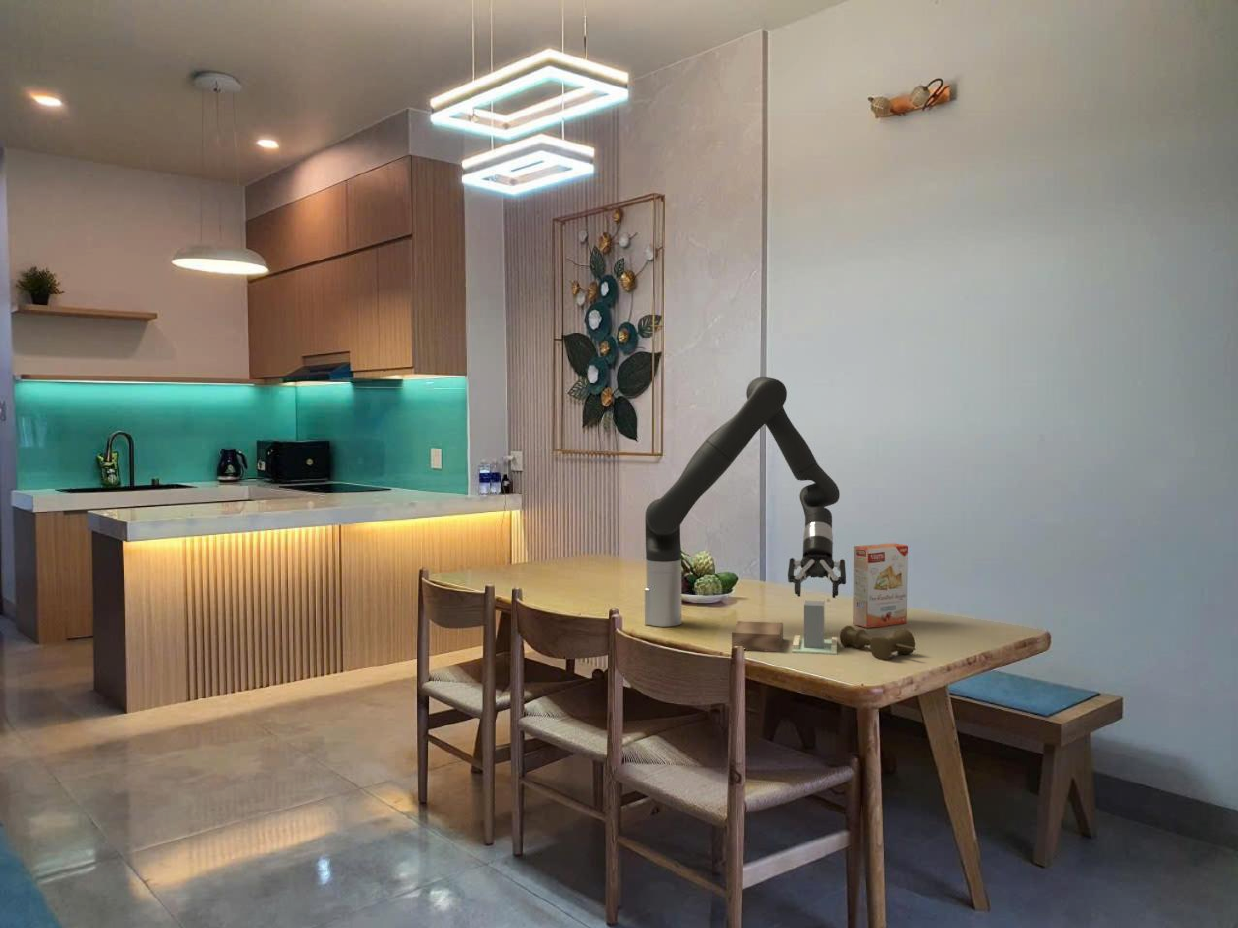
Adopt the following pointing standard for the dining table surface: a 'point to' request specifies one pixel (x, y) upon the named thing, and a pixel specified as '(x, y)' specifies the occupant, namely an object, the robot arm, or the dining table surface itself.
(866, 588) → the cracker box
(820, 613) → the gray rectangular block
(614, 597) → the dining table surface
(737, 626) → the riser
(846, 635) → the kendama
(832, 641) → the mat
